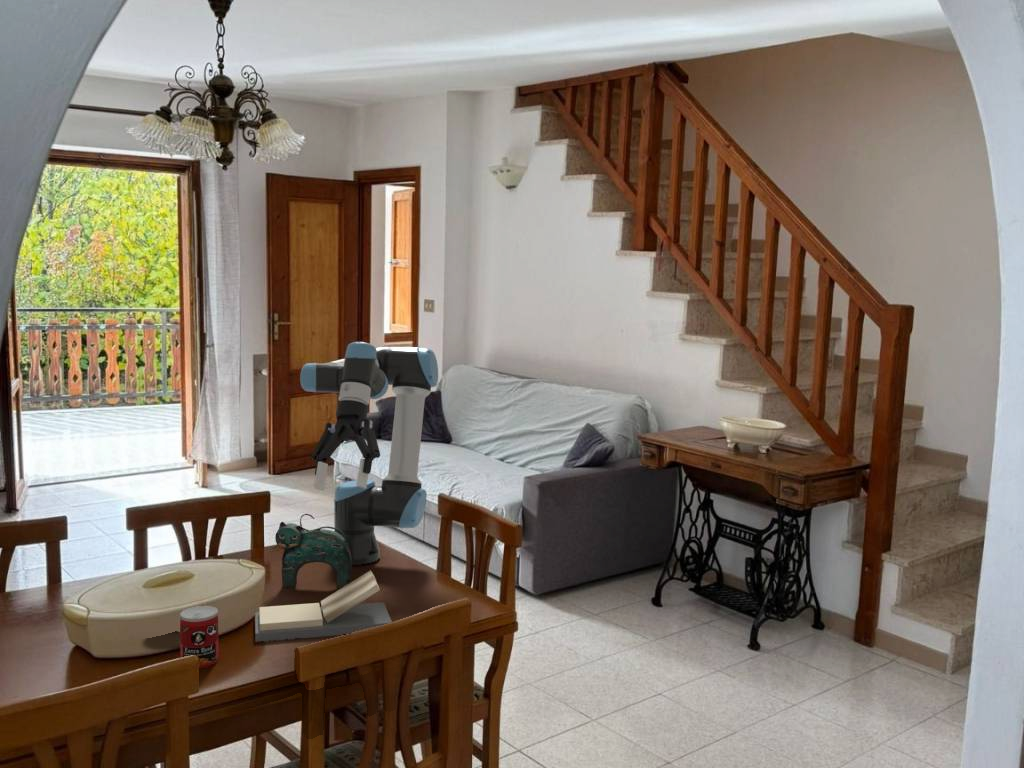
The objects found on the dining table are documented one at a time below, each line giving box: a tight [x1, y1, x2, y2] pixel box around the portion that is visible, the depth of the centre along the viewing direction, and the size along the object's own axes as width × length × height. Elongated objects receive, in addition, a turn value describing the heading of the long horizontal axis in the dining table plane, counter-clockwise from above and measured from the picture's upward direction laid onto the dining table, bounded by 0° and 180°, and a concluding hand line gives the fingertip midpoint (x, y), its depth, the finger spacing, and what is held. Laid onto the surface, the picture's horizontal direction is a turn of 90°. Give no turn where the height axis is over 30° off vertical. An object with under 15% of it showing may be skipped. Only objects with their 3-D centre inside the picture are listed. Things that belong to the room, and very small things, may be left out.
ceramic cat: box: [274, 513, 353, 589], centre depth 239 cm, size 20×6×20 cm, turn 92°
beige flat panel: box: [320, 570, 381, 623], centre depth 213 cm, size 11×14×2 cm
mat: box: [254, 601, 393, 643], centre depth 212 cm, size 14×31×4 cm, turn 106°
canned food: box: [179, 605, 219, 669], centre depth 190 cm, size 8×8×11 cm
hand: (339, 488), depth 211 cm, fingers open, 13 cm apart
